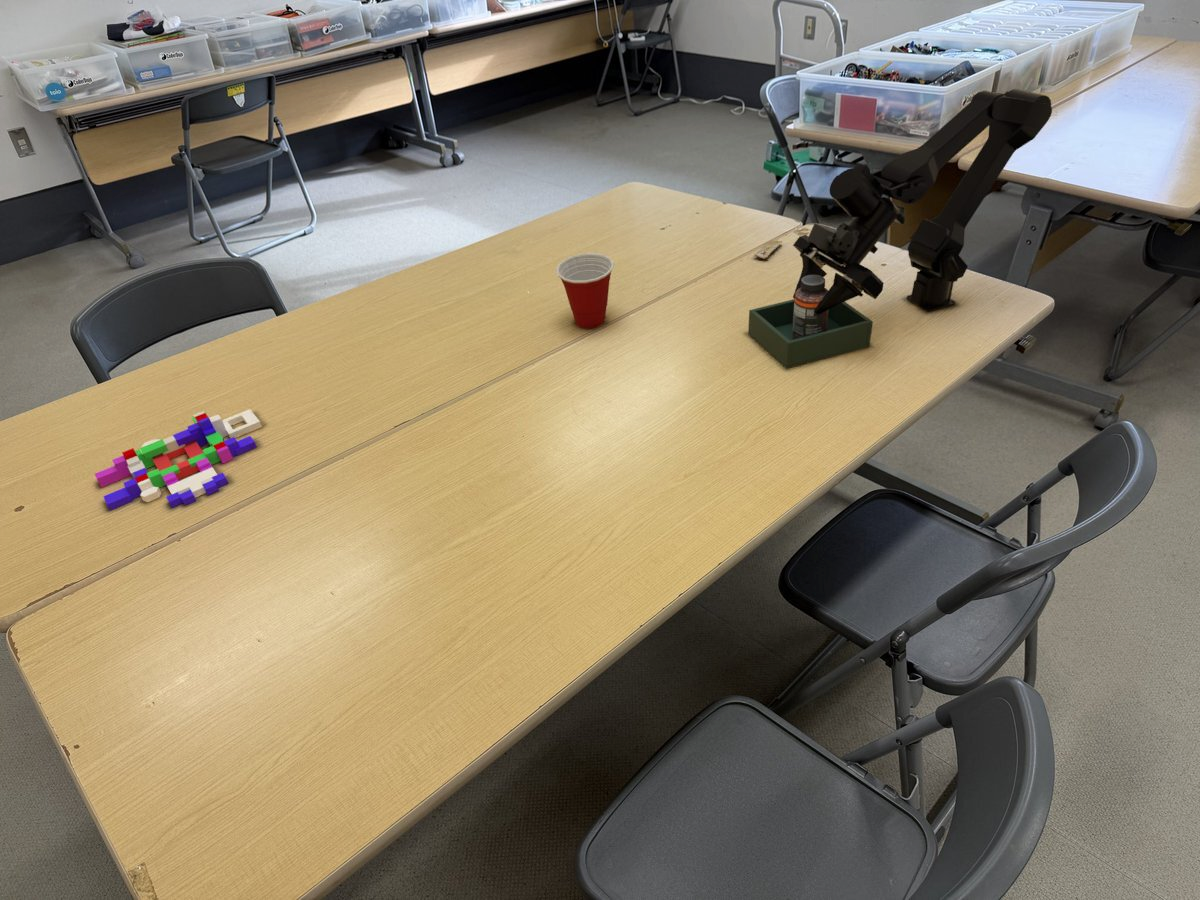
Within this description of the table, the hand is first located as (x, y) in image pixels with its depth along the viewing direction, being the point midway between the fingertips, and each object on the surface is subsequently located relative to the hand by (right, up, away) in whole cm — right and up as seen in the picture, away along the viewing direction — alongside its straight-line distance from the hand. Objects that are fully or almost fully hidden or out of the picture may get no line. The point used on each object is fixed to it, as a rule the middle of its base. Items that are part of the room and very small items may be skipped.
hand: (805, 306), depth 137 cm
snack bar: (+1, +18, +36) cm, 40 cm away
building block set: (-101, -28, -12) cm, 106 cm away
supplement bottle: (+2, -5, +4) cm, 7 cm away
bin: (+2, -5, +5) cm, 7 cm away
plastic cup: (-38, 0, +16) cm, 41 cm away
